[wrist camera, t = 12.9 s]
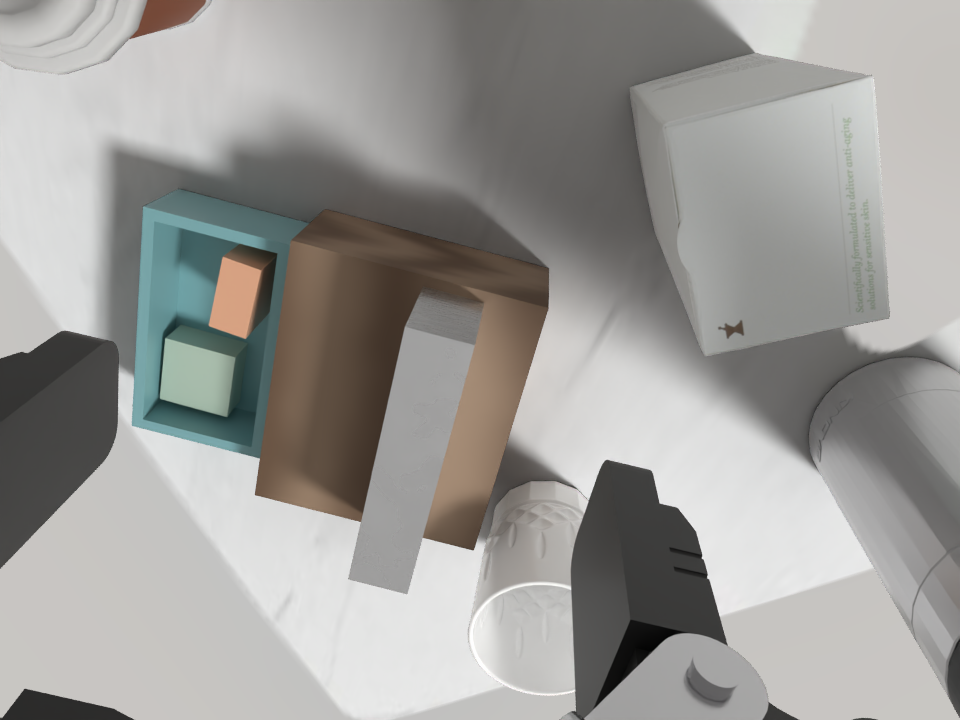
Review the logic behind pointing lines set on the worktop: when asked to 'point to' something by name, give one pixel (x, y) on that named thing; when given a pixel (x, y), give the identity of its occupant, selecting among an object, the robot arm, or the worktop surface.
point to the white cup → (528, 590)
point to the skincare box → (766, 197)
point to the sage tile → (203, 370)
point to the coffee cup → (82, 29)
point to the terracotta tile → (243, 290)
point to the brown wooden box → (390, 366)
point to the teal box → (203, 310)
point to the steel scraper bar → (415, 436)
